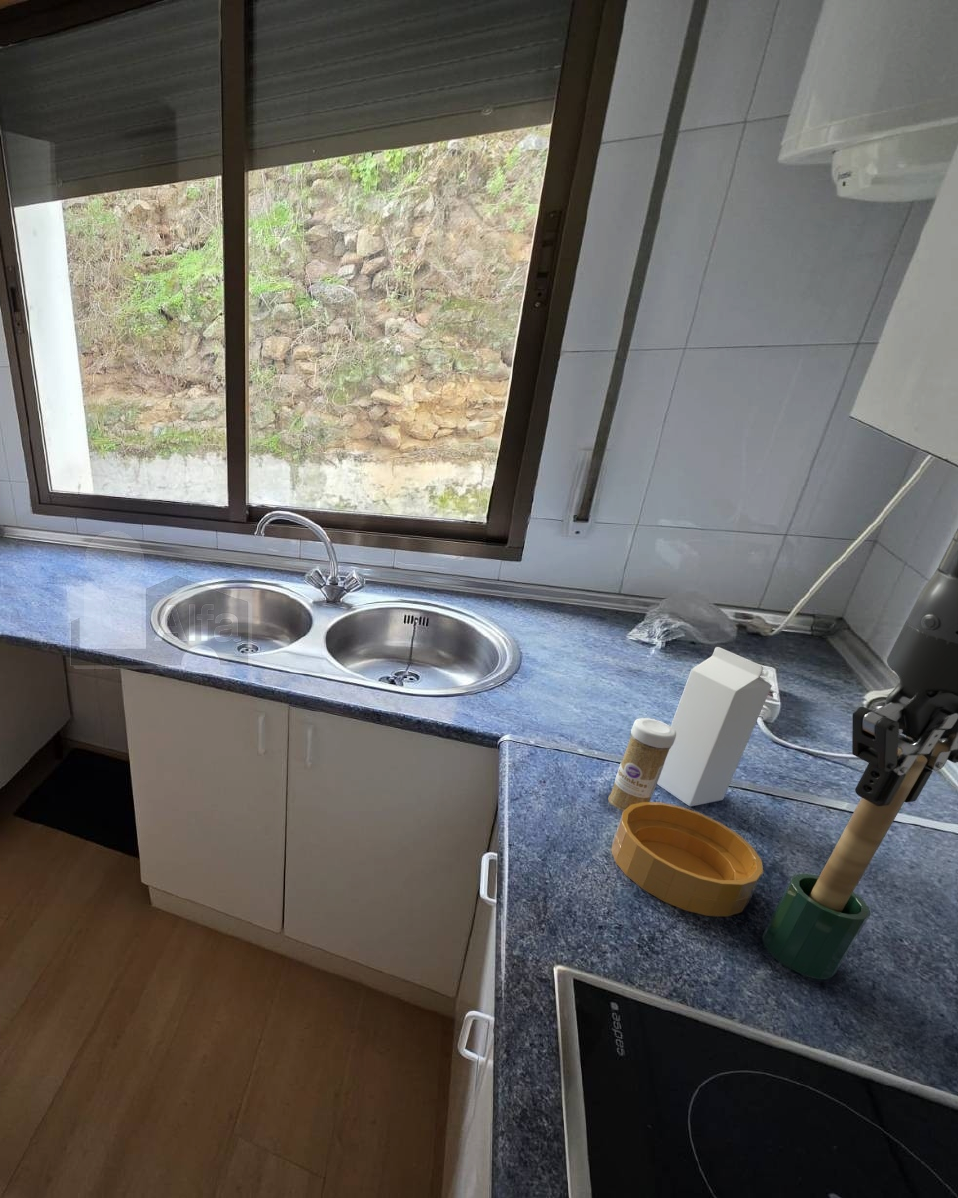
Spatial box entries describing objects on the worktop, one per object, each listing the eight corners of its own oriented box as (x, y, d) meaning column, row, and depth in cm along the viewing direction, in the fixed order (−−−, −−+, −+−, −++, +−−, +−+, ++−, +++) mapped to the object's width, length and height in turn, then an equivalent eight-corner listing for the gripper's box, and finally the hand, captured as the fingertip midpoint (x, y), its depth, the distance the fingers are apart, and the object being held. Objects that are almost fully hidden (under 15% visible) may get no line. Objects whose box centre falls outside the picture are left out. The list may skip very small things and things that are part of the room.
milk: (682, 774, 94) (733, 643, 86) (724, 801, 89) (782, 663, 81) (649, 780, 93) (698, 647, 85) (689, 807, 88) (745, 669, 79)
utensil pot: (814, 943, 68) (849, 882, 65) (845, 990, 63) (884, 926, 60) (750, 928, 70) (780, 867, 66) (775, 972, 65) (809, 909, 62)
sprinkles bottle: (603, 806, 88) (630, 725, 83) (612, 791, 91) (639, 712, 86) (642, 823, 85) (673, 740, 80) (650, 807, 88) (680, 726, 83)
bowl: (718, 850, 81) (733, 816, 78) (768, 935, 69) (786, 898, 67) (598, 824, 85) (609, 792, 83) (627, 901, 74) (640, 865, 71)
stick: (827, 908, 65) (916, 748, 57) (840, 927, 63) (935, 764, 55) (797, 902, 66) (881, 743, 58) (810, 920, 64) (899, 758, 56)
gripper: (969, 659, 47) (870, 836, 54) (1110, 644, 49) (997, 817, 56) (853, 618, 54) (777, 780, 61) (980, 606, 56) (894, 764, 63)
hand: (883, 797), depth 58 cm, fingers closed on stick, 2 cm apart
